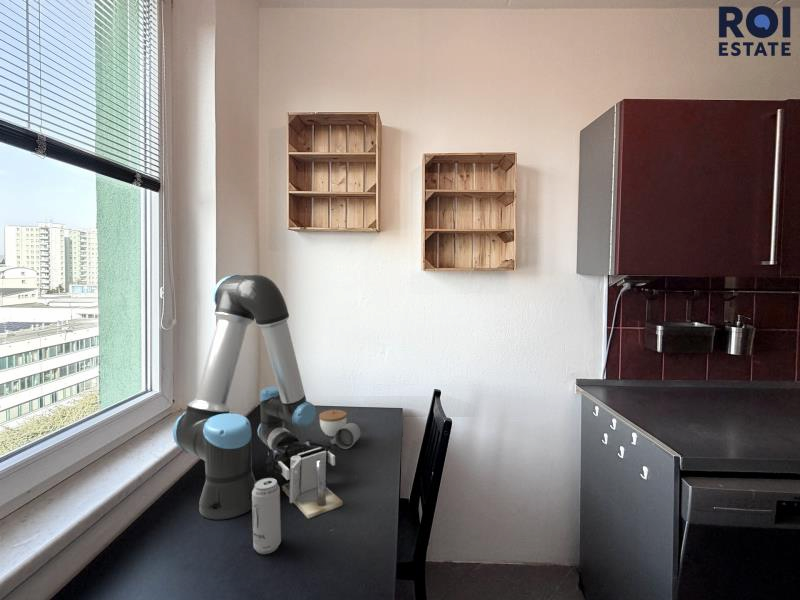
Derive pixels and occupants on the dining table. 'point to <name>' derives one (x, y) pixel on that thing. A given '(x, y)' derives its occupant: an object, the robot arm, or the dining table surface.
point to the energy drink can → (266, 516)
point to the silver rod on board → (320, 490)
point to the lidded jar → (332, 421)
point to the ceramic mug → (346, 436)
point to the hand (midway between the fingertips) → (311, 467)
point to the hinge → (305, 471)
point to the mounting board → (313, 508)
